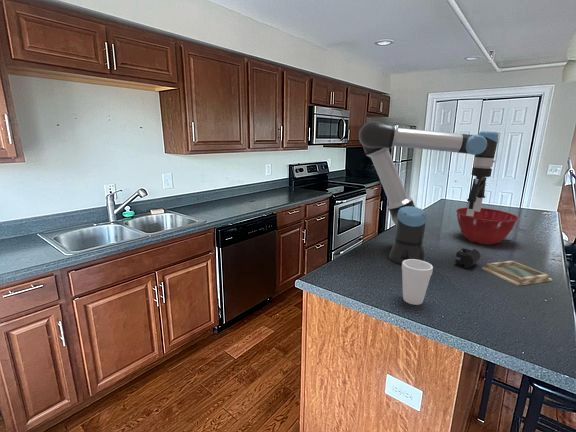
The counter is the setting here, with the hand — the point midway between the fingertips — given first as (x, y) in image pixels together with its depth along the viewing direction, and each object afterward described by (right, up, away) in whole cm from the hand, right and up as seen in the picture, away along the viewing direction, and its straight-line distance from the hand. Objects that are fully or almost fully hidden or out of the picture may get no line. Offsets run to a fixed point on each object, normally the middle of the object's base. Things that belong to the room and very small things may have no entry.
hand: (473, 213), depth 146 cm
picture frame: (+8, -25, -16) cm, 31 cm away
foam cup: (-43, -30, -38) cm, 65 cm away
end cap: (-7, -23, -7) cm, 25 cm away
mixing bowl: (+20, -15, +27) cm, 36 cm away
